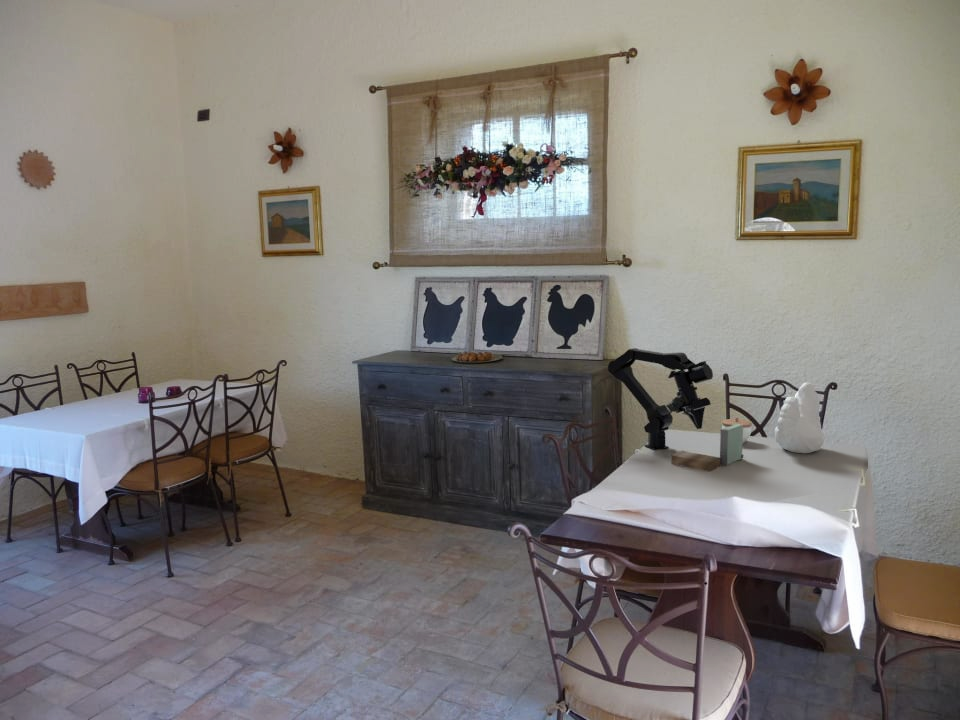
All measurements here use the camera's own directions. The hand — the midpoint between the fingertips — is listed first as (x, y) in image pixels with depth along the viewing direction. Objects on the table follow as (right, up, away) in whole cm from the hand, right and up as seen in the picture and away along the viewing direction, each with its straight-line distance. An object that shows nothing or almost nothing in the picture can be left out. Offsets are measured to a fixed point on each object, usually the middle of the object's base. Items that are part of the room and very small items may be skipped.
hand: (699, 428), depth 253 cm
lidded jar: (+20, -7, +19) cm, 28 cm away
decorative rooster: (+35, -9, +3) cm, 36 cm away
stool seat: (-5, -11, -11) cm, 16 cm away
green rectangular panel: (+8, -10, -9) cm, 16 cm away
